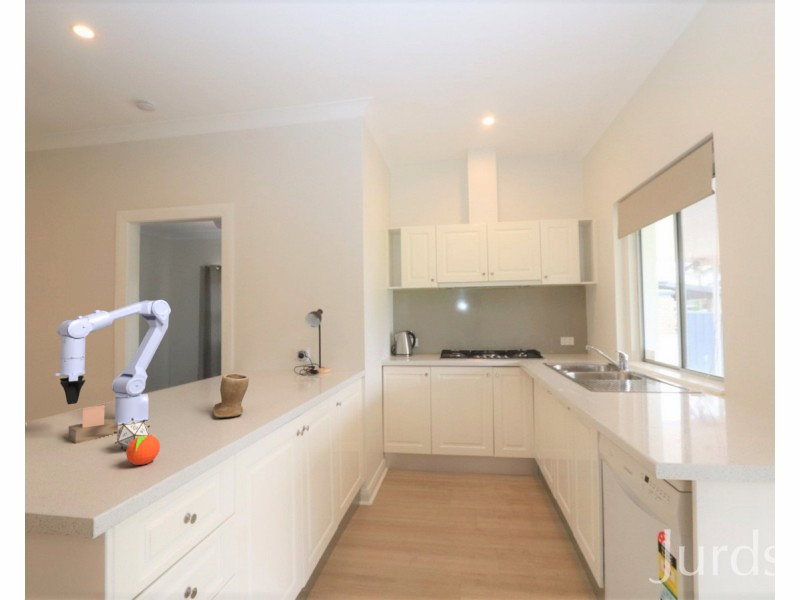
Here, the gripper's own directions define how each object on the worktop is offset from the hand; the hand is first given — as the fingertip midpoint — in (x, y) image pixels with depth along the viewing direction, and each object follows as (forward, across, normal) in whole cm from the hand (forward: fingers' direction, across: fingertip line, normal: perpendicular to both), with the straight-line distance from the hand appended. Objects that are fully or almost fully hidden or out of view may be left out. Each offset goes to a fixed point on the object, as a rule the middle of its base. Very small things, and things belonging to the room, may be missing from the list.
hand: (71, 401), depth 113 cm
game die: (+11, +28, +12) cm, 32 cm away
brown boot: (+11, +11, +44) cm, 47 cm away
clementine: (+11, +43, +12) cm, 46 cm away
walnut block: (+11, +6, +5) cm, 13 cm away
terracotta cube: (+7, +6, +5) cm, 10 cm away
